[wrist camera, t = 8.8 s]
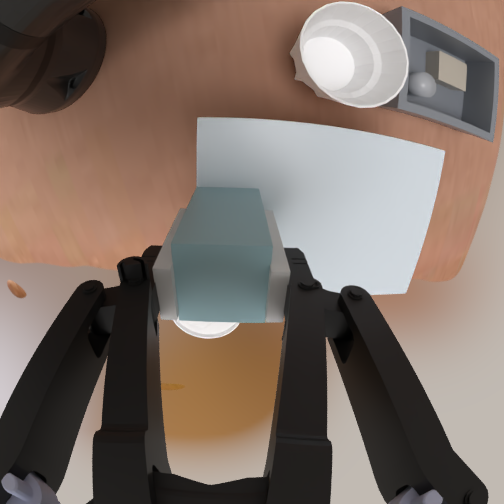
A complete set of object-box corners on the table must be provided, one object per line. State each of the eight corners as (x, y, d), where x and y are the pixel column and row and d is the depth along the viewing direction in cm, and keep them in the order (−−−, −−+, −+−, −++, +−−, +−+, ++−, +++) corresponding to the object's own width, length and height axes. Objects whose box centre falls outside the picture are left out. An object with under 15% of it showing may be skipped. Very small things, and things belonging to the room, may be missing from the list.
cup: (264, 69, 27) (275, 56, 18) (314, 11, 23) (342, -17, 14) (333, 120, 30) (369, 130, 22) (379, 63, 26) (425, 58, 18)
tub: (369, 104, 29) (397, 108, 23) (373, 18, 23) (401, 6, 17) (460, 131, 30) (493, 142, 24) (466, 57, 24) (498, 58, 18)
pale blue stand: (201, 287, 23) (188, 377, 15) (199, 117, 17) (166, 126, 9) (401, 287, 24) (447, 355, 16) (437, 148, 18) (520, 183, 10)
